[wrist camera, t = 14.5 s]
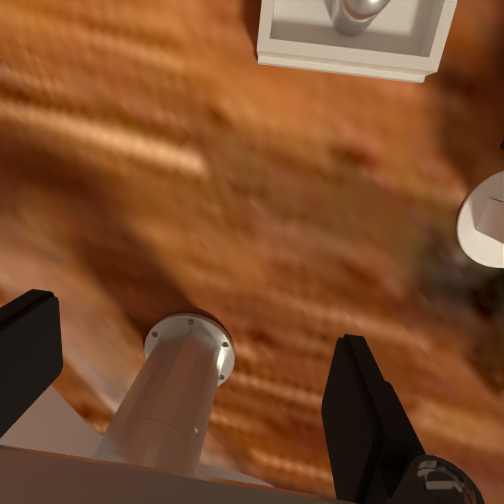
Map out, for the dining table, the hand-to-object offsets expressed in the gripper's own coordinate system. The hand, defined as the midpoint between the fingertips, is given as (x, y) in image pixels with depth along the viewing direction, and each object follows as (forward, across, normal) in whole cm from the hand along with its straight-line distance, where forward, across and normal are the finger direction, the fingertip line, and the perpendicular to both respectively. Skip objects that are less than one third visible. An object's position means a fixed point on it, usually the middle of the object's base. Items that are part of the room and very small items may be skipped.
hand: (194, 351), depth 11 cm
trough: (+27, -7, -19) cm, 34 cm away
